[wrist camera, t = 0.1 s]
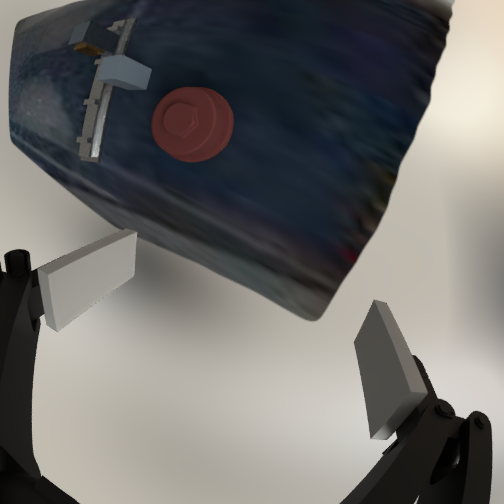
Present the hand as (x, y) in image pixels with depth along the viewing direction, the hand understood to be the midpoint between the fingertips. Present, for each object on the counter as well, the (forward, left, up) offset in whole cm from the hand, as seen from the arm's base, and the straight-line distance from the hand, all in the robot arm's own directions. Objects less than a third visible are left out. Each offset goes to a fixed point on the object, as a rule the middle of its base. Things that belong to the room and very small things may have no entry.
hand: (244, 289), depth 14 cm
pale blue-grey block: (-17, -29, -28) cm, 44 cm away
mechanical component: (-9, -13, -28) cm, 32 cm away
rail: (-16, -37, -28) cm, 49 cm away
